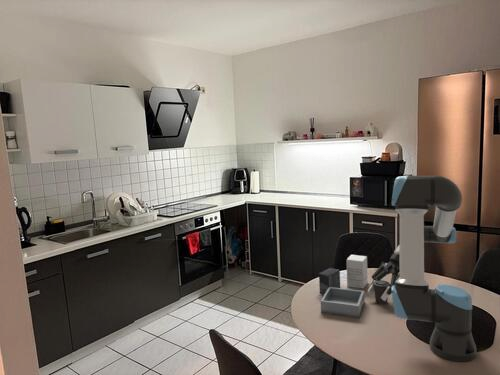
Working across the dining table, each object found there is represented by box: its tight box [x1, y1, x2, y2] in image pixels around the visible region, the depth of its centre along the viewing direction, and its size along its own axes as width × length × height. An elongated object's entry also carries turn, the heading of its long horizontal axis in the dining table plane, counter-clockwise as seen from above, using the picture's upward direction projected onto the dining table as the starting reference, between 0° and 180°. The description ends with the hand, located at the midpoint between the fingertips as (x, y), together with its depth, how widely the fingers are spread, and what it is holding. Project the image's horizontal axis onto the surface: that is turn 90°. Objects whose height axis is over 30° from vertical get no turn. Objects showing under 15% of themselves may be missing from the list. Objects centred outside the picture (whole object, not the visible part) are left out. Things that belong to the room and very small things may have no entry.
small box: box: [318, 267, 341, 295], centre depth 197 cm, size 11×6×10 cm, turn 135°
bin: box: [320, 287, 365, 319], centre depth 178 cm, size 17×17×6 cm
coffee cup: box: [371, 279, 391, 305], centre depth 181 cm, size 8×8×10 cm
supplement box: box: [346, 254, 369, 289], centre depth 203 cm, size 9×9×15 cm
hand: (376, 296), depth 180 cm, fingers closed on coffee cup, 8 cm apart
